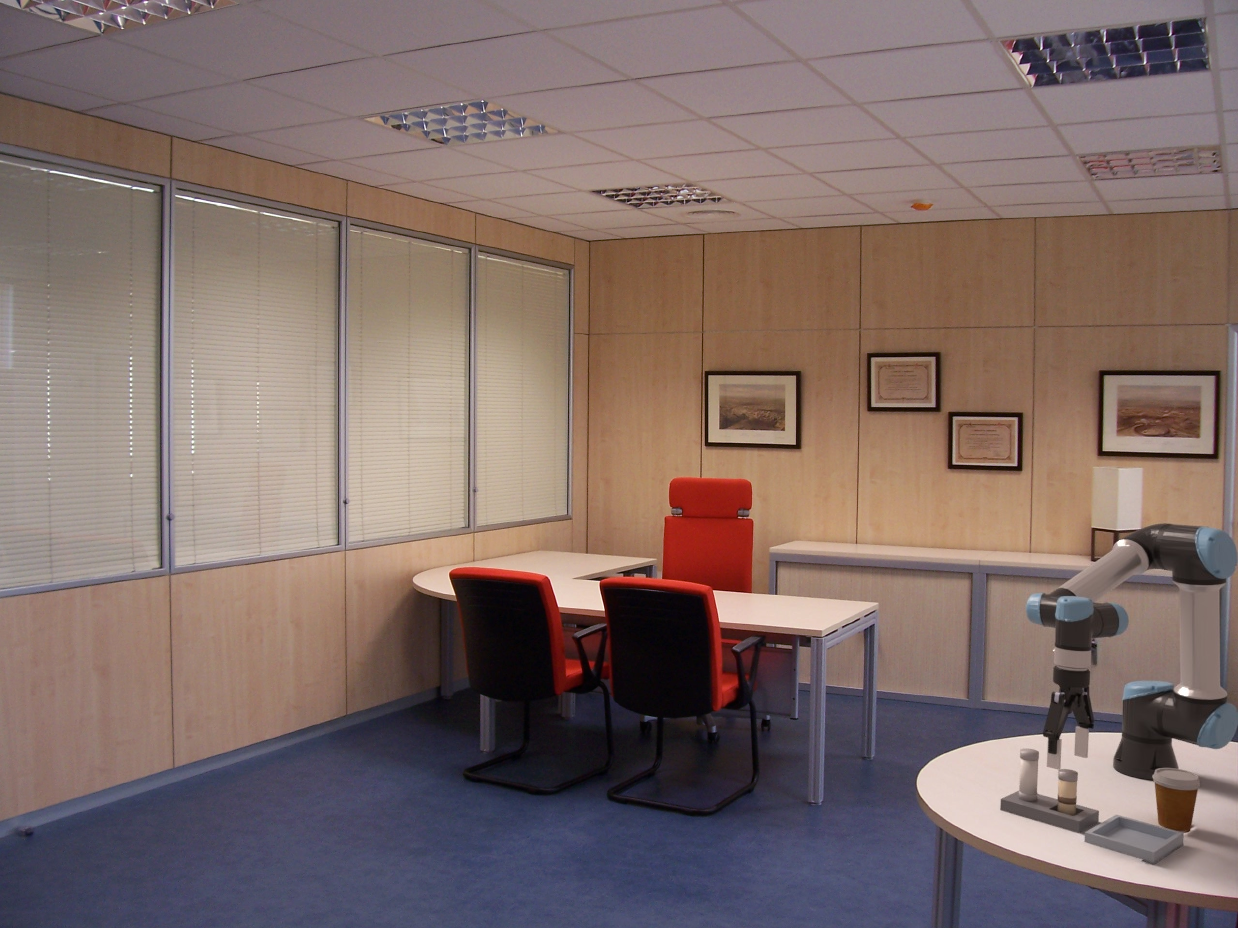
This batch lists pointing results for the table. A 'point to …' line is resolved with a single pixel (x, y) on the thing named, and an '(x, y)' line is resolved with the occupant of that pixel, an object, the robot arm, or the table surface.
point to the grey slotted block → (1043, 800)
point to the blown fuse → (1067, 791)
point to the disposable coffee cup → (1175, 797)
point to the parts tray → (1135, 838)
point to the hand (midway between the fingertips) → (1067, 762)
